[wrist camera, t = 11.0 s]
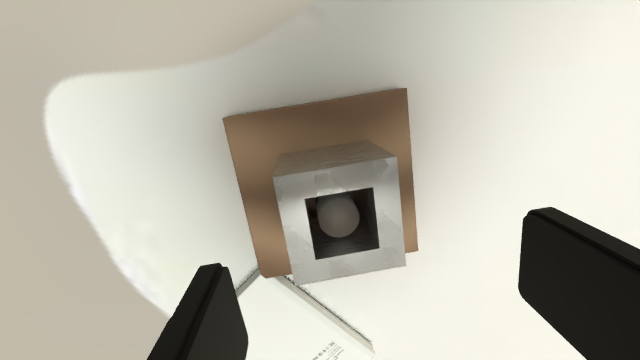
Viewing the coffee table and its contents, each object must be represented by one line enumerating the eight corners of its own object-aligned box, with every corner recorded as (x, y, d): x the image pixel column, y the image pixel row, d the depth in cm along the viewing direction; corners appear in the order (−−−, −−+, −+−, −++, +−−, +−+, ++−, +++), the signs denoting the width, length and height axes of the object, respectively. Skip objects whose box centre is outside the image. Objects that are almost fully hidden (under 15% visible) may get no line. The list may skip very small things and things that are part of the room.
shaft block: (227, 116, 20) (197, 124, 14) (398, 88, 21) (443, 84, 14) (263, 268, 24) (252, 329, 17) (410, 241, 24) (451, 292, 18)
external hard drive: (265, 259, 23) (371, 342, 26) (200, 325, 25) (308, 397, 27) (263, 271, 22) (376, 357, 25) (193, 341, 23) (309, 415, 26)
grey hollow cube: (279, 154, 20) (272, 177, 14) (367, 139, 20) (396, 156, 14) (295, 235, 21) (295, 285, 16) (376, 220, 22) (405, 265, 16)
